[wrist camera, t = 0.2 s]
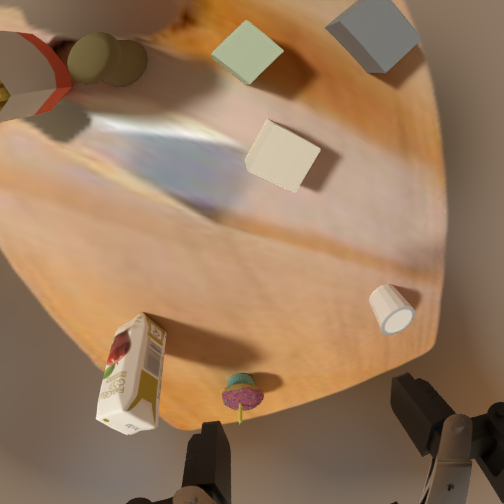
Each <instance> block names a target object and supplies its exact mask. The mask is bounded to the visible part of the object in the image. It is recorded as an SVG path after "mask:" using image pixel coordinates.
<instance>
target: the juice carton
mask: <svg viewBox="0 0 504 504" xmlns="http://www.w3.org/2000/svg"><path fill="white" fill-rule="evenodd" d="M166 336H167V332H166V331H165V330H163V329H162V328H161V327H160V326H158V325H157V324H156V323H155V322H154V321H152V320H151V319H150V318H149V317H148V316H147V315H145V314H144V313H143V312H142V313H140V314H139V315H137V316H136V317H134V318H133V319H132V320H131V321H129V322H127V323H125V324H123V325H122V326H120V327H119V328H118V329H117V331H116V333H115V336H114V339H113V343H112V346H111V350H110V354H109V357H108V361H107V365H106V369H105V373H104V377H103V381H102V386H101V390H100V394H99V399H98V406H97V416H96V419H97V420H98V421H100V422H102V423H104V424H106V425H107V426H109V427H111V428H113V429H115V430H117V431H119V432H122V433H124V434H126V435H131V434H134V433H137V432H139V431H141V430H150V429H155V428H157V424H158V415H159V403H160V391H161V381H162V371H163V362H164V353H165V345H166Z"/></svg>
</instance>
